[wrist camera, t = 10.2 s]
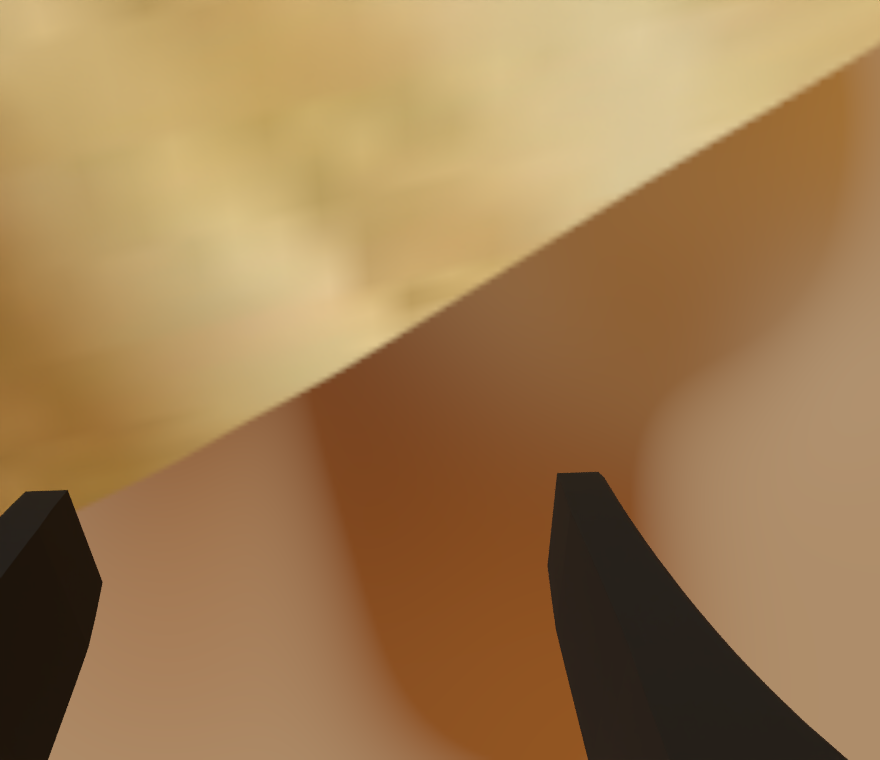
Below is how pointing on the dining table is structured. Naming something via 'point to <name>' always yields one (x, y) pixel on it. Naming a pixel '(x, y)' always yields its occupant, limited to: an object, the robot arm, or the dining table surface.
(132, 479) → the dining table surface
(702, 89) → the dining table surface
